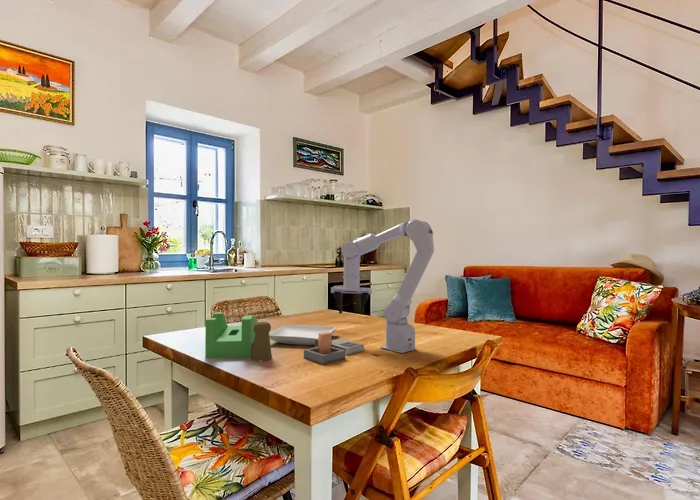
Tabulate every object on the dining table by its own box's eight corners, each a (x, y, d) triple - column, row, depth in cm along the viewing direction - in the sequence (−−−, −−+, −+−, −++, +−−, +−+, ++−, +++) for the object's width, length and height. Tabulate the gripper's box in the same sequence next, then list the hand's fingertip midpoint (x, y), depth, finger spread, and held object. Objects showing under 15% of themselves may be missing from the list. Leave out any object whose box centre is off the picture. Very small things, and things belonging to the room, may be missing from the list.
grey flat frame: (363, 350, 132) (363, 344, 132) (346, 354, 127) (346, 348, 127) (340, 344, 141) (340, 338, 141) (322, 347, 135) (322, 342, 135)
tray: (345, 358, 123) (345, 350, 123) (322, 364, 116) (322, 355, 116) (326, 352, 129) (326, 345, 129) (303, 358, 123) (303, 349, 123)
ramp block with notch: (250, 358, 123) (250, 319, 123) (205, 359, 122) (205, 319, 122) (257, 339, 147) (258, 307, 147) (220, 340, 145) (220, 307, 145)
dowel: (333, 356, 124) (334, 333, 124) (324, 358, 120) (325, 335, 120) (323, 353, 126) (324, 331, 126) (315, 356, 123) (315, 333, 123)
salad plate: (337, 334, 156) (337, 325, 156) (326, 348, 135) (326, 337, 135) (284, 332, 159) (284, 323, 159) (265, 345, 138) (265, 335, 138)
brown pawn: (263, 354, 127) (263, 319, 126) (276, 357, 123) (276, 321, 123) (247, 358, 122) (247, 322, 122) (260, 362, 118) (260, 324, 118)
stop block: (331, 351, 131) (331, 340, 131) (324, 352, 129) (324, 341, 129) (321, 348, 135) (321, 337, 135) (314, 349, 133) (314, 339, 133)
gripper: (373, 275, 145) (372, 312, 145) (334, 274, 148) (334, 311, 148) (370, 276, 138) (370, 315, 139) (329, 275, 141) (329, 314, 141)
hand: (351, 313), depth 143 cm, fingers open, 7 cm apart
